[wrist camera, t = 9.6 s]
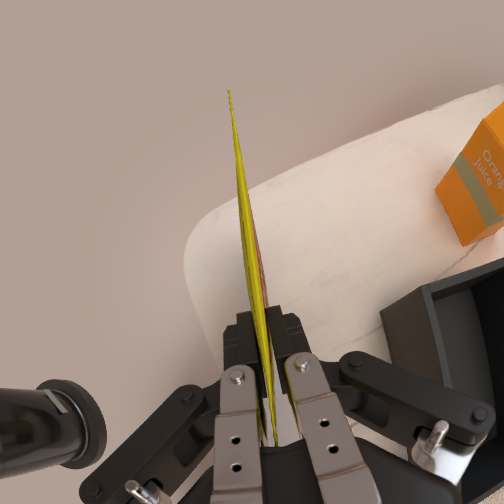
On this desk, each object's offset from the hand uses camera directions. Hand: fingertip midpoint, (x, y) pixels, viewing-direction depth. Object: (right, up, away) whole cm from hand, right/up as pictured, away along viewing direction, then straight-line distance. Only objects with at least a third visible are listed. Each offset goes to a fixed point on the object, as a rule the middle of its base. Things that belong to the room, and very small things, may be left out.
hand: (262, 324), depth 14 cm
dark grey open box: (+22, -11, +12) cm, 28 cm away
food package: (+1, -3, +15) cm, 15 cm away
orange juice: (+29, +9, +20) cm, 36 cm away
